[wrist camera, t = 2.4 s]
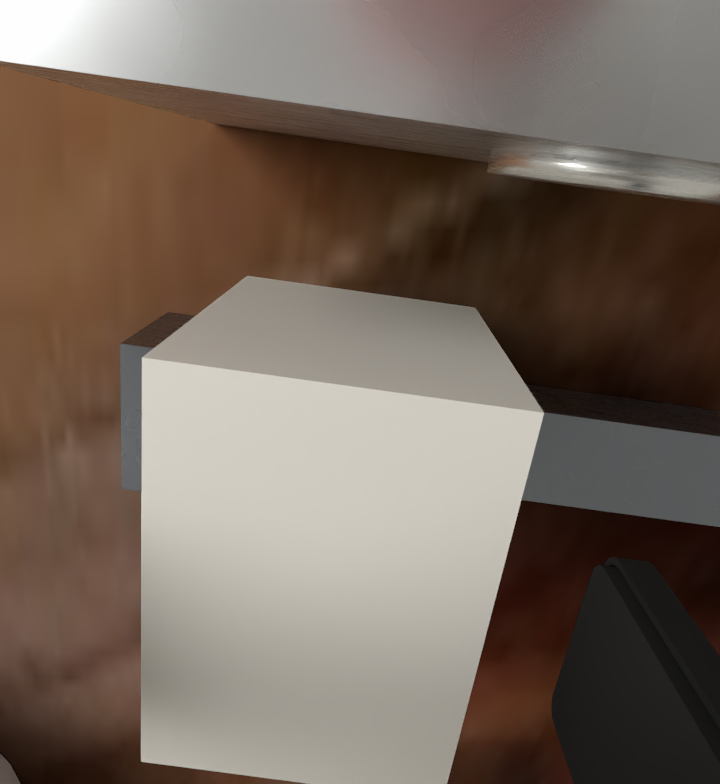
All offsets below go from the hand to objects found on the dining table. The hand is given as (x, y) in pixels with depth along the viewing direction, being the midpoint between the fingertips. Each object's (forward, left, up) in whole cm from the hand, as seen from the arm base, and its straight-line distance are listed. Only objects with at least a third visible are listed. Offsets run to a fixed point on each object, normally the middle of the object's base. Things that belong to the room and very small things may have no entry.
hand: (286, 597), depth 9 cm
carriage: (0, 0, -8) cm, 8 cm away
